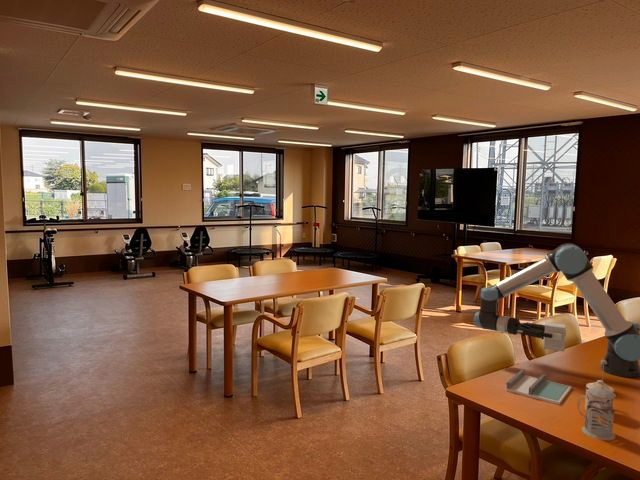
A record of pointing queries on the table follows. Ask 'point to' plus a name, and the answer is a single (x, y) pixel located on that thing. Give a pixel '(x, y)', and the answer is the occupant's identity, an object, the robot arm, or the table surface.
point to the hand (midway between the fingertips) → (563, 335)
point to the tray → (537, 388)
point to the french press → (591, 425)
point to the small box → (552, 343)
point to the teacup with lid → (609, 401)
